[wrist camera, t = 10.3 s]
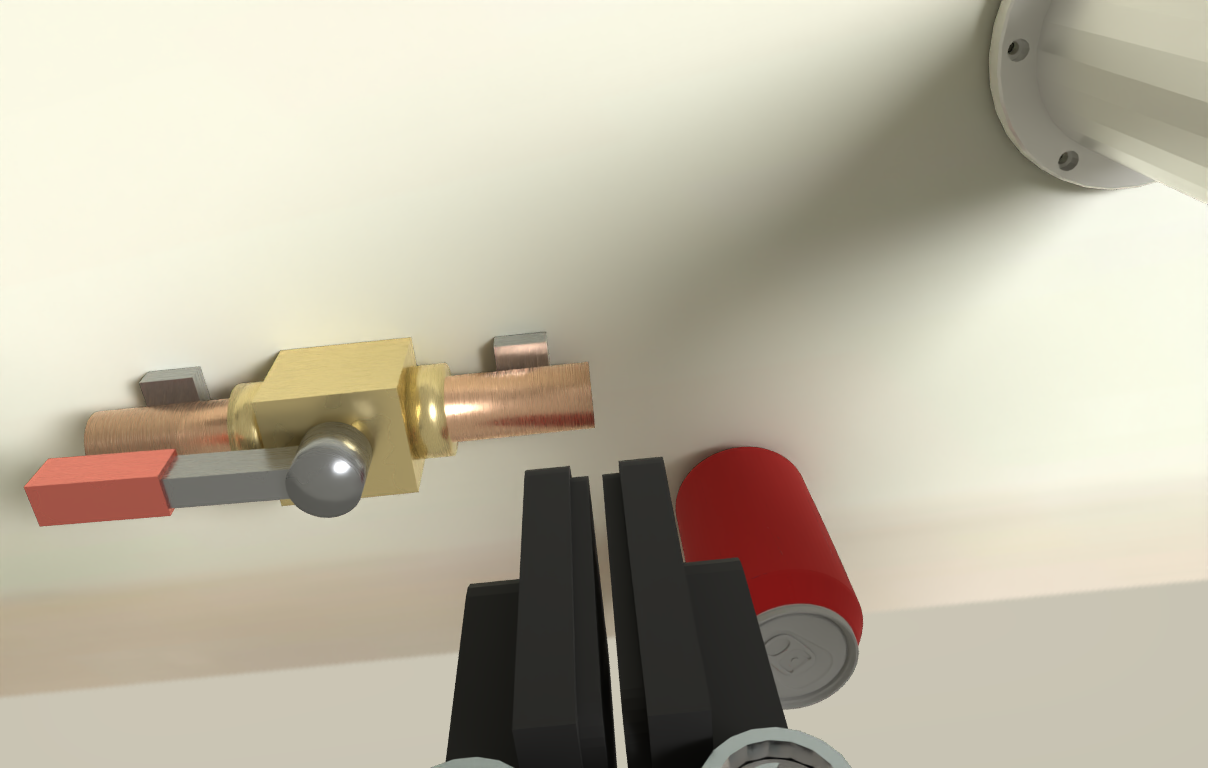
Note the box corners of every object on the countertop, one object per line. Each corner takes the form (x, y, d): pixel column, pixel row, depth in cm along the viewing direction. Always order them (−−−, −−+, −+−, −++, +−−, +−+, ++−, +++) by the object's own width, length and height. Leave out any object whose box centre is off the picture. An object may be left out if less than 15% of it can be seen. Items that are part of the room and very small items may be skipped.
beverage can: (732, 567, 51) (784, 745, 40) (645, 497, 48) (675, 668, 38) (829, 489, 49) (909, 655, 38) (743, 413, 46) (804, 567, 36)
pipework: (583, 320, 44) (589, 368, 39) (593, 417, 46) (599, 473, 42) (106, 368, 43) (56, 422, 39) (141, 463, 46) (98, 525, 41)
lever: (365, 418, 39) (354, 451, 37) (377, 479, 41) (368, 514, 38) (46, 443, 39) (15, 478, 37) (69, 504, 40) (41, 541, 38)
